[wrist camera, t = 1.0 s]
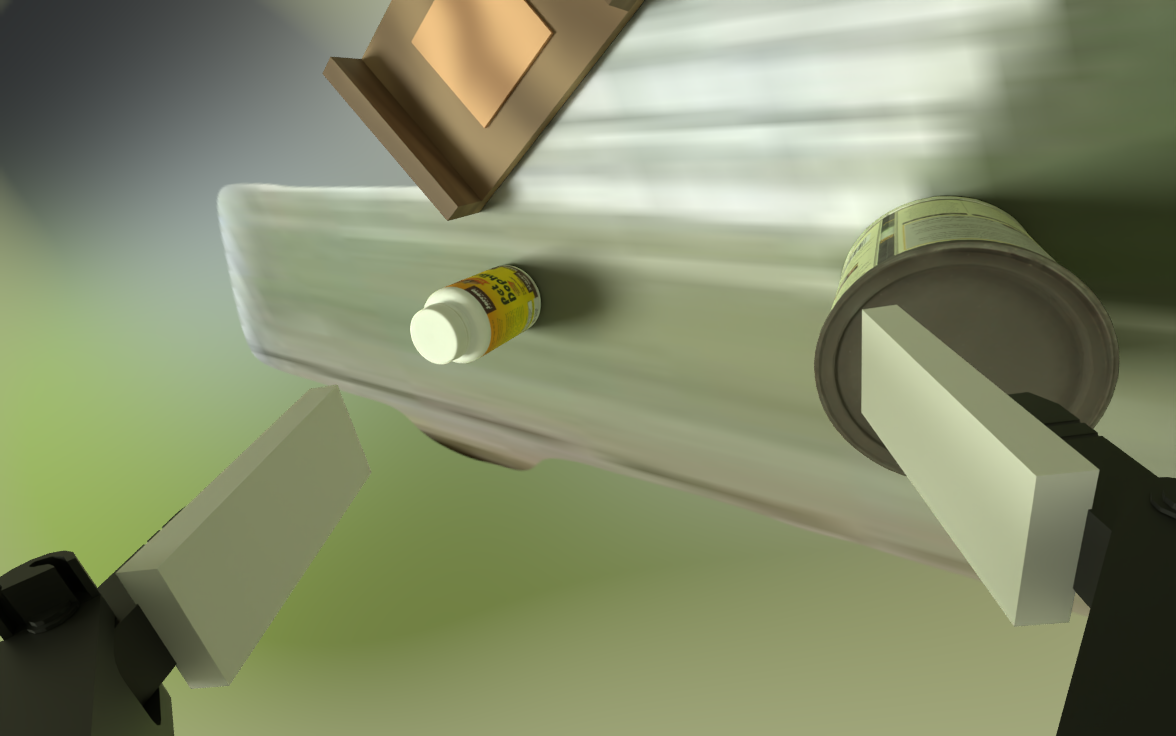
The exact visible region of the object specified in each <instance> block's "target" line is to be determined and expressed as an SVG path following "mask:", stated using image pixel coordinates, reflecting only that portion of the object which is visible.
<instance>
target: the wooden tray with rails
mask: <svg viewBox="0 0 1176 736" xmlns="http://www.w3.org/2000/svg"><path fill="white" fill-rule="evenodd" d="M644 1H645V0H392V1H391V3H390V5H389V7H388V9H387V11H386V13H385V14H384V17H383V18H382V20H381V22H380V24H379V26H378V28H377V30H376V32H375V34H374V36H373V38H372V40H371V42H370V44H369V46H368V48H367V50H366V52H365V54H364V56H363V58H362V59H352V58H340V57H330V59H329V61H328V63H327V66H326V67H325V70H324V72H323V75H324V76H325V77H326V78H327V80H329V82H330V83H331V84H332V85H333V87H334V88H335V89H336V90H337V91H338V92H339V94H340V95H341V96H342V97H343V99H345V101H346V102H347V103H348V104H349V106H350V107H351V108H352V109H353V110H354V111H355V112H356V114H357V115H358V116H359V117H360V118H361V120H362V121H363V122H364V123H365V124H366V126H367V127H368V128H369V129H370V130H371V131H372V133H373V134H374V135H375V136H376V137H377V138H378V140H379V141H380V142H381V143H382V144H383V146H384V147H385V148H386V149H387V150H388V151H389V153H390V154H391V155H392V156H393V157H394V158H395V160H396V161H397V162H398V163H399V164H400V166H401V167H402V168H403V169H404V170H405V171H406V173H407V174H408V175H409V176H410V177H411V179H412V180H413V181H414V182H415V183H416V184H417V186H418V187H419V188H420V189H421V190H422V192H423V193H424V194H425V195H426V196H427V197H428V199H429V200H430V201H431V202H432V203H433V204H434V206H435V207H436V208H437V209H438V210H439V212H440V213H441V214H442V215H443V216H444V217H445V219H446V220H447V221H449V220H453V219H456V218H460V217H464V216H468V215H471V214H475V213H479V212H480V211H481V209H482V208H483V207H484V206H485V204H486V203H487V202H488V200H489V199H490V198H491V197H492V195H493V194H494V193H495V191H496V190H497V189H498V188H499V186H500V185H501V184H502V183H503V181H504V180H505V179H506V177H507V176H508V175H509V174H510V172H511V171H512V170H513V168H514V167H515V166H516V165H517V163H518V162H519V161H520V159H521V158H522V157H523V156H524V154H525V153H526V152H527V151H528V149H529V148H530V147H531V145H532V144H533V143H534V142H535V140H536V139H537V138H538V136H539V135H540V134H541V133H542V131H543V130H544V129H545V127H546V126H547V125H548V124H549V122H550V121H551V120H552V118H553V117H554V116H555V115H556V113H557V112H558V111H559V110H560V108H561V107H562V106H563V104H564V103H565V102H566V101H567V99H568V98H569V97H570V95H571V94H572V93H573V92H574V90H575V89H576V88H577V86H578V85H579V84H580V83H581V81H582V80H583V79H584V78H585V76H586V75H587V74H588V72H589V71H590V70H591V69H592V67H593V66H594V65H595V63H596V62H597V61H598V60H599V58H600V57H601V56H602V54H603V53H604V52H605V51H606V49H607V48H608V47H609V46H610V44H611V43H612V42H613V40H614V39H615V38H616V37H617V35H618V34H619V33H620V31H621V30H622V29H623V28H624V26H625V25H626V24H627V22H628V21H629V20H630V19H631V17H632V16H633V15H634V14H635V12H636V11H637V10H638V8H639V7H640V6H641V5H642V3H643V2H644Z"/></svg>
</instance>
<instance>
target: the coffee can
mask: <svg viewBox="0 0 1176 736" xmlns="http://www.w3.org/2000/svg"><path fill="white" fill-rule="evenodd" d="M891 305H898V306H899V307H900V308H901V309H903V310H904V311H905V312H906V313H908V314H909V315H910V316H911V317H912V318H914V319H915V320H916V321H917V322H919V323H920V324H921V325H922V326H923V327H925V328H926V329H927V330H928V331H930V332H931V333H932V334H933V335H935V336H936V337H937V338H938V339H939V340H941V341H942V342H943V343H944V344H946V345H947V346H948V347H949V348H951V349H952V350H953V351H954V352H955V353H957V354H958V355H959V356H960V357H962V358H963V359H964V360H965V361H966V362H968V363H969V364H970V365H971V366H973V367H974V368H975V369H976V370H978V371H979V372H980V373H981V374H982V375H984V376H985V377H986V378H987V379H989V380H990V381H991V382H992V383H994V384H995V385H996V386H997V387H998V388H1000V389H1001V390H1002V391H1003V392H1005V393H1006V394H1016V393H1024V392H1030V393H1032V394H1035V395H1037V396H1040V397H1043V398H1045V399H1048V400H1050V401H1053V402H1055V403H1058V404H1060V405H1061V406H1062V407H1064V408H1065V409H1066V410H1068V411H1069V412H1070V413H1072V414H1073V415H1074V416H1076V417H1077V418H1079V419H1080V422H1081V423H1085V424H1087V425H1088V426H1089V427H1091V428H1092V429H1093V428H1094V427H1095V426H1096V425H1097V423H1098V422H1099V420H1100V419H1101V417H1102V416H1103V414H1104V413H1105V411H1106V409H1107V407H1108V405H1109V403H1110V401H1111V399H1112V396H1113V393H1114V390H1115V386H1116V383H1117V379H1118V373H1119V346H1118V341H1117V337H1116V333H1115V330H1114V327H1113V324H1112V321H1111V319H1110V317H1109V315H1108V313H1107V312H1106V310H1105V308H1104V306H1103V305H1102V303H1101V302H1100V300H1099V299H1098V297H1097V296H1096V295H1095V294H1094V292H1093V291H1092V290H1091V289H1090V288H1089V287H1088V286H1087V285H1086V284H1085V283H1084V282H1083V281H1082V280H1080V279H1079V278H1078V277H1077V276H1075V275H1074V274H1073V273H1072V272H1070V271H1069V270H1067V269H1066V268H1064V267H1063V266H1062V265H1060V264H1058V263H1057V262H1056V261H1055V260H1054V259H1053V258H1052V257H1051V256H1049V255H1048V254H1047V253H1046V252H1045V251H1044V250H1043V249H1042V248H1041V247H1040V246H1039V245H1038V244H1037V243H1036V242H1035V241H1034V240H1033V239H1032V238H1031V237H1030V236H1029V235H1028V233H1027V232H1026V231H1025V229H1024V228H1023V227H1022V226H1021V225H1020V224H1019V223H1018V222H1017V221H1016V219H1014V218H1013V217H1012V216H1010V215H1009V214H1008V213H1006V212H1004V211H1003V210H1001V209H999V208H997V207H995V206H993V205H991V204H988V203H985V202H982V201H979V200H977V199H971V198H966V197H955V196H935V197H930V198H926V199H921V200H916V201H913V202H910V203H907V204H904V205H902V206H900V207H897V208H895V209H893V210H892V211H890V212H888V213H886V214H885V215H883V216H882V217H880V218H879V219H877V220H876V221H875V222H874V223H872V224H871V225H870V226H869V227H868V228H866V230H865V231H864V232H863V233H862V235H861V236H860V237H859V238H858V240H857V241H856V242H855V244H854V245H853V247H852V249H851V250H850V252H849V254H848V256H847V258H846V261H845V264H844V267H843V271H842V275H841V281H840V284H839V287H838V290H837V294H836V297H835V300H834V303H833V306H832V309H831V312H830V314H829V315H828V317H827V319H826V321H825V323H824V325H823V327H822V329H821V332H820V336H819V339H818V342H817V346H816V351H815V360H814V371H815V381H816V387H817V391H818V394H819V398H820V401H821V403H822V406H823V409H824V411H825V413H826V414H827V416H828V418H829V420H830V421H831V423H832V424H833V426H834V427H835V428H836V430H837V431H838V432H839V433H840V434H841V435H842V436H843V438H844V439H845V440H846V441H847V442H849V443H850V444H851V445H852V446H853V447H854V448H855V449H857V450H858V451H859V452H861V453H862V454H863V455H865V456H866V457H868V458H869V459H870V460H872V461H874V462H876V463H877V464H879V465H881V466H883V467H884V468H886V469H889V470H891V471H893V472H896V473H898V474H901V475H904V476H906V474H905V473H904V471H903V470H902V469H901V467H900V466H899V464H898V463H897V462H896V460H895V459H894V457H893V456H892V455H891V453H890V452H889V450H888V449H887V448H886V446H885V445H884V443H883V442H882V441H881V439H880V438H879V436H878V435H877V434H876V432H875V431H874V429H873V428H872V427H871V425H870V424H869V422H868V421H867V420H866V418H865V417H864V415H863V414H862V413H861V399H862V310H863V309H870V308H877V307H884V306H891Z"/></svg>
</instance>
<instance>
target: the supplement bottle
mask: <svg viewBox="0 0 1176 736" xmlns="http://www.w3.org/2000/svg"><path fill="white" fill-rule="evenodd" d="M540 309H541V298H540V293H539V290H538V288H537V286H536V284H535V282H534V281H533V279H532V278H531V277H530V276H529V275H528V274H527V273H526V272H524V271H523V270H521V269H519V268H517V267H514V266H510V265H502V266H498V267H495V268H492V269H489V270H486V271H484V272H482V273H479V274H477V275H474V276H472V277H469V278H467V279H464V280H461V281H459V282H456V283H454V284H452V285H449V286H446V287H444V288H441V289H439V290H437V291H436V292H434V293H433V294H432V295H431V296H430V297H429V298H428V300H427V302H426V304H425V306H424V309H422V310H420V311H419V312H417V313H416V314H415V315H414V317H413V319H412V321H411V327H410V331H411V337H412V340H413V343H414V345H415V347H416V349H417V350H418V351H419V353H420V354H421V355H422V356H423V357H424V358H426V359H427V360H429V361H430V362H432V363H435V364H446V363H449V362H451V361H453V362H457V363H469V362H473V361H475V360H477V359H479V358H481V357H482V356H484V355H485V354H487V353H489V352H490V351H492V350H494V349H495V348H497V347H499V346H500V345H502V344H504V343H505V342H507V341H509V340H510V339H512V338H514V337H515V336H517V335H519V334H521V333H522V332H524V331H525V330H527V329H529V328H530V327H531V326H532V325H533V324H534V323H535V322H536V320H537V318H538V316H539V314H540Z"/></svg>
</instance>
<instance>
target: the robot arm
mask: <svg viewBox="0 0 1176 736" xmlns="http://www.w3.org/2000/svg"><path fill="white" fill-rule="evenodd" d="M861 413H862V414H863V415H864V417H865V418H866V420H867V421H868V422H869V424H870V425H871V427H872V428H873V429H874V431H875V432H876V434H877V435H878V436H879V438H880V439H881V441H882V442H883V443H884V445H885V446H886V448H887V449H888V450H889V452H890V453H891V455H892V456H893V457H894V459H895V460H896V462H897V463H898V464H899V466H900V467H901V469H902V470H903V471H904V473H905V474H906V476H907V477H908V478H909V480H910V481H911V483H912V484H913V485H914V487H915V488H916V490H917V491H918V492H919V494H920V495H921V497H922V498H923V499H924V501H925V502H926V504H927V505H928V506H929V508H930V509H931V511H932V512H933V513H934V515H935V516H936V518H937V519H938V520H939V522H940V523H941V525H942V526H943V527H944V529H945V530H946V532H947V533H948V534H949V536H950V537H951V539H952V540H953V541H954V543H955V544H956V546H957V547H958V548H959V550H960V551H961V553H962V554H963V555H964V557H965V558H966V560H967V561H968V562H969V564H970V565H971V567H972V568H973V570H974V571H975V572H976V574H977V575H978V577H979V578H980V579H981V581H982V582H983V584H984V585H985V586H986V588H987V589H988V591H989V592H990V593H991V595H992V596H993V598H994V599H995V600H996V602H997V603H998V604H999V606H1000V607H1001V609H1002V610H1003V611H1004V613H1005V614H1006V616H1007V617H1008V619H1009V620H1010V621H1011V623H1012V624H1013V625H1014V626H1028V625H1040V624H1054V623H1068V622H1069V621H1070V616H1071V611H1072V606H1073V601H1074V596H1075V592H1076V593H1077V594H1078V595H1079V596H1080V597H1081V598H1082V600H1083V601H1084V602H1085V603H1086V604H1087V605H1088V606H1089V607H1090V613H1089V616H1088V620H1087V624H1086V628H1085V631H1084V635H1083V639H1082V643H1081V646H1080V650H1079V654H1078V657H1077V661H1076V664H1075V668H1074V672H1073V675H1072V679H1071V683H1070V687H1069V690H1068V694H1067V697H1066V701H1065V705H1064V709H1063V712H1062V716H1061V720H1060V723H1059V727H1058V731H1057V734H1056V736H1176V478H1169V477H1160V478H1159V477H1157V476H1156V475H1154V474H1153V473H1152V472H1150V471H1149V470H1148V469H1146V468H1145V467H1144V466H1142V465H1141V464H1140V463H1138V462H1137V461H1135V460H1134V459H1133V458H1131V457H1130V456H1129V455H1127V454H1126V453H1125V452H1123V451H1122V450H1121V449H1119V448H1118V447H1117V446H1115V445H1114V444H1112V443H1111V442H1110V441H1108V440H1107V439H1106V438H1104V437H1103V436H1098V432H1096V431H1095V430H1093V429H1092V428H1091V427H1089V426H1088V425H1087V424H1085V423H1081V422H1080V419H1079V418H1077V417H1076V416H1074V415H1073V414H1072V413H1070V412H1069V411H1068V410H1066V409H1065V408H1064V407H1062V406H1061V405H1060V404H1058V403H1055V402H1053V401H1050V400H1048V399H1045V398H1043V397H1040V396H1037V395H1035V394H1032V393H1030V392H1024V393H1016V394H1006V393H1005V392H1003V391H1002V390H1001V389H1000V388H998V387H997V386H996V385H995V384H994V383H992V382H991V381H990V380H989V379H987V378H986V377H985V376H984V375H982V374H981V373H980V372H979V371H978V370H976V369H975V368H974V367H973V366H971V365H970V364H969V363H968V362H966V361H965V360H964V359H963V358H962V357H960V356H959V355H958V354H957V353H955V352H954V351H953V350H952V349H951V348H949V347H948V346H947V345H946V344H944V343H943V342H942V341H941V340H939V339H938V338H937V337H936V336H935V335H933V334H932V333H931V332H930V331H928V330H927V329H926V328H925V327H923V326H922V325H921V324H920V323H919V322H917V321H916V320H915V319H914V318H912V317H911V316H910V315H909V314H908V313H906V312H905V311H904V310H903V309H901V308H900V307H899V306H898V305H891V306H884V307H877V308H870V309H863V310H862V399H861ZM370 474H371V470H370V467H369V465H368V462H367V459H366V457H365V454H364V452H363V449H362V447H361V444H360V442H359V439H358V437H357V434H356V431H355V429H354V426H353V424H352V421H351V419H350V416H349V413H348V411H347V408H346V406H345V403H344V401H343V398H342V396H341V393H340V390H339V388H338V385H332V386H325V387H318V388H311V389H309V390H308V391H307V392H306V393H305V394H304V395H303V396H302V397H301V398H300V399H299V400H298V401H297V402H295V403H294V404H293V405H292V406H291V407H290V408H289V409H288V410H287V411H286V412H285V413H284V414H283V415H282V416H281V417H280V418H279V419H278V420H276V421H275V422H274V423H273V424H272V425H271V426H270V427H269V428H268V429H267V430H266V431H265V432H264V433H263V434H262V435H261V436H260V437H259V438H258V439H257V440H255V441H254V442H253V443H252V444H251V445H250V446H249V447H248V448H247V449H246V450H245V451H244V452H243V453H242V454H241V455H240V456H238V458H237V459H235V460H234V461H233V462H232V463H231V464H230V465H229V466H228V467H227V468H226V469H225V470H224V471H223V472H222V473H221V474H219V475H218V476H217V477H216V478H215V479H214V480H213V481H212V482H211V483H210V484H209V485H208V486H207V487H206V488H205V489H204V490H203V491H202V492H200V493H199V494H198V495H197V496H196V497H195V498H194V499H193V500H192V501H191V502H190V503H189V504H188V505H187V506H186V507H184V508H182V509H181V510H180V511H179V512H178V513H177V514H175V516H173V517H172V518H171V519H170V520H169V521H168V522H167V523H166V524H165V525H164V526H163V527H162V530H159V531H157V533H155V534H154V535H153V536H152V537H151V538H150V539H149V540H148V541H147V542H148V543H147V544H145V545H143V546H142V547H140V548H139V549H138V550H137V551H136V552H135V553H134V554H133V555H132V556H131V557H130V558H129V559H128V560H127V561H126V562H125V563H124V564H122V566H120V567H119V568H118V569H117V570H116V571H115V572H114V573H113V574H112V575H111V576H110V577H109V578H108V579H107V580H106V581H104V582H103V583H102V584H101V585H100V586H99V587H98V588H97V587H96V585H95V584H94V582H93V581H92V579H91V578H90V576H89V575H88V573H87V572H86V571H85V569H84V567H83V566H82V565H81V563H80V562H79V560H78V559H77V557H76V556H75V554H74V553H73V552H69V551H59V552H53V553H49V554H46V555H43V556H41V557H38V558H35V559H32V560H30V561H28V562H26V563H24V564H22V565H20V566H18V567H16V568H14V569H12V570H10V571H9V572H7V573H6V574H4V575H3V576H1V577H0V636H1V637H2V638H3V640H4V641H1V642H0V736H174V730H173V716H172V704H171V697H170V695H169V693H168V692H167V690H166V689H165V687H164V686H163V684H162V682H163V681H164V679H165V678H166V677H167V676H168V674H169V673H170V672H171V671H172V669H173V668H174V667H175V665H176V667H177V668H178V670H179V671H180V673H181V674H182V676H183V677H184V679H185V681H186V682H187V684H188V685H189V687H190V688H191V689H193V688H206V687H218V686H229V685H230V683H231V682H232V681H233V679H234V677H235V676H236V674H237V673H238V672H239V670H240V669H241V667H242V666H243V664H244V662H245V661H246V659H247V658H248V657H249V655H250V654H251V652H252V650H253V649H254V648H255V646H256V645H257V643H258V642H259V640H260V639H261V637H262V636H263V634H264V633H265V631H266V630H267V628H268V627H269V625H270V624H271V622H272V621H273V619H274V617H275V616H276V615H277V613H278V612H279V610H280V609H281V607H282V606H283V604H284V603H285V601H286V600H287V598H288V597H289V595H290V593H291V592H292V590H293V589H294V588H295V586H296V585H297V583H298V582H299V580H300V579H301V577H302V576H303V574H304V573H305V571H306V570H307V568H308V567H309V565H310V563H311V562H312V561H313V559H314V558H315V556H316V555H317V553H318V552H319V550H320V549H321V547H322V546H323V544H324V543H325V541H326V540H327V538H328V536H329V535H330V534H331V532H332V531H333V529H334V527H335V526H336V525H337V523H338V522H339V520H340V519H341V517H342V516H343V514H344V513H345V511H346V510H347V508H348V507H349V505H350V504H351V502H352V501H353V499H354V498H355V496H356V495H357V493H358V492H359V490H360V489H361V487H362V485H363V484H364V483H365V481H366V480H367V478H368V477H369V475H370Z"/></svg>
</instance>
